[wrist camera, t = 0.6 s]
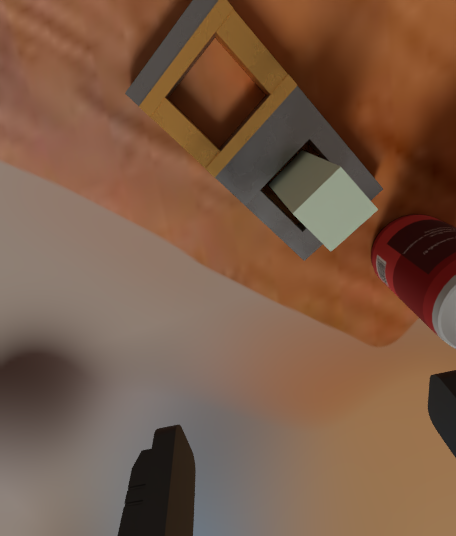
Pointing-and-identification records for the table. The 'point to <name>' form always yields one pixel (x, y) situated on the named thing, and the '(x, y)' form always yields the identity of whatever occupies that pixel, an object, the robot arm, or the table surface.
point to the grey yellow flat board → (254, 126)
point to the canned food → (421, 269)
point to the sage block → (322, 198)
